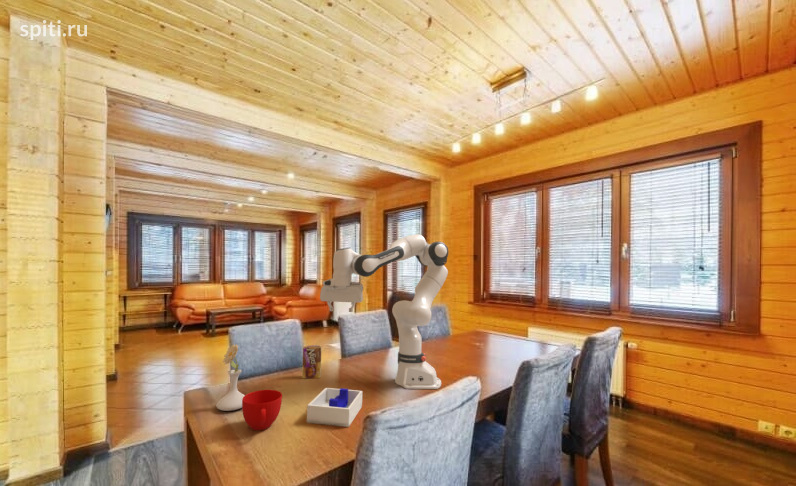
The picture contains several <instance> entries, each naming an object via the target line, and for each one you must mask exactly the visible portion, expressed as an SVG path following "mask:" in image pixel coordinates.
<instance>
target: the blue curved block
mask: <svg viewBox="0 0 796 486" xmlns="http://www.w3.org/2000/svg"><path fill="white" fill-rule="evenodd" d="M339 389H340V393H339V396H336V397H335V399H332V398H331V399H330V400H329V406H331V407H341V408H345V407H346V406H347V405H348V390H349V388H339Z"/></svg>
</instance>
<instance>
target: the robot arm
mask: <svg viewBox="0 0 796 486" xmlns="http://www.w3.org/2000/svg"><path fill="white" fill-rule="evenodd" d="M448 256H449V247H448V245H446V244H445V243H444V242H442V241H433V242H432V243H430V244H429V243H428V242H427V240H426V239H425V237H424V236H423V235H421V234H419V233H418V234H412V235H407V236H404V237H401V238H398V239H396V240H394V241H393V242H391V244H390V245H389V248H388V249H387V250H384V251H381V252H378V253H376V254H363V255H362V254H360V253H357V252H355V251H354V250H353V249H351V248H350V247H344V248H339V249H336V250H335V252H334V254H333V261H332V268H333V273H332V278H329V279H326V280H323V281H322V287H321V289H320V296H319V300H320V301H321V302H327V305H328V307H329V312H334V310H335V309H334V308H335V307H333V305H332V302H333V303H334V302H335V303H337V302H338V303H339V302H341V303H351V306H350V307H349V308H348V313H353V312H354V307H355V306H356V303H360V304H361V303H362V302H363V301H364V295H363V291H364V284H362V283H361V282H354V281H353V282H352V275H353V274H354V275H357V276H361V277H363V278H364V277H367V278H368V277H370V276H373V275H374V274H375V273H376V272H377V271H378V270H379V269H380V268H382V267H384V266H386V265H389V264H391V263H393V262H399V261H400V262H401V261H404V260H407V259H410V258H413V257H416V259H417V261H418V263H419V264H420V265H422V266H424V267H427V270H426V272H424V274H423V276H422V277H421V279H420V280H419V281H418V282H417V284H416V286H414V292H415V293H414V296H413V299H412V300H405V299H404V300H399V301H397V302H395V303H394V304H393V306H392V308H391V309H392V310H391V311H392V315H393V317H394V320H395V321H396V322H395V323H396V326H397V331H398V353H397V370H396V371H397V372H396V376H395V379H394V383H395V384H396V385H398V386H401V387H403V388H404V389H407V390H409V389H411V390H413V389H414V390H438V389H439V388H441V387H442V380H441V379H440V378H439V377H437V375H438V374H437V371H436V369H435V368H434V367H433V366H432V365H431V364H430V363H428V362H427V361H426V360H427V357H426V353H424V352H422V344H423V343H422V341H423V340H422V335H421V334H420V332H419V329H418V327H425V326H427V325H428V324H430V321H431V320H432V310H431V309H432V304H433V302H434V299H435V298H436V296H437V295H438V293H439V291H441V289H442V287H443V285H444V284H445V281H446V279H448V278H447V277H448V274H449V270H448V268H447V267H446V266H445V265H446V264H447V262H448Z"/></svg>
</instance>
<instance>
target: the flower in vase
mask: <svg viewBox="0 0 796 486" xmlns="http://www.w3.org/2000/svg"><path fill="white" fill-rule="evenodd" d="M238 350H239V346H238V344H237V343H235V344H234V343H233V344H232V345H231V346H230V347H228V348H227V351H226V354H224V358H223V361H222V362H223V363H224V365H229V364H230V366H231V367H232V368H234V369H230V370H228V371H227V374H228V375H229V378H230V389H229V391H228V392H227V393H226V394H225V395H224V396H222V397H221V398H220V399H219V400H218V401H217V403H216V408H217V409H218V410H220V411H224V412H225V411H228V412H230V411H231V412H232V411H236V410H239V409H242V399H243V397H244V396H245V395H246V394H244V393H242V392H240V391H239V390H238V379H239V376H240V375H241V373H242V369H238V368H239V364H238V360H237V358H236V356H237V353H238V352H239V351H238ZM234 360H235V362H236V363H235V362H234Z"/></svg>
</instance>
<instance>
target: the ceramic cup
mask: <svg viewBox="0 0 796 486" xmlns="http://www.w3.org/2000/svg"><path fill="white" fill-rule="evenodd" d="M244 395H245V396H244V397H243V399H242V408H241V409H242V410H241V411H242V415H243V419H244V421H245V423H246V424H247V426H249V427H250V429H251V430H254V431H263V430H264V431H265V430H267V429H269V428H270V427H271V426H272V425H273V424H274V423H275V421H276V420H277V418H278V416H279V413H280V412H281V408H282V401H283V400H282V399H283V393H282V392H281V391H279V390H276V389H259V390H254V391H251V392H248V393H247V394H244Z"/></svg>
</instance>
